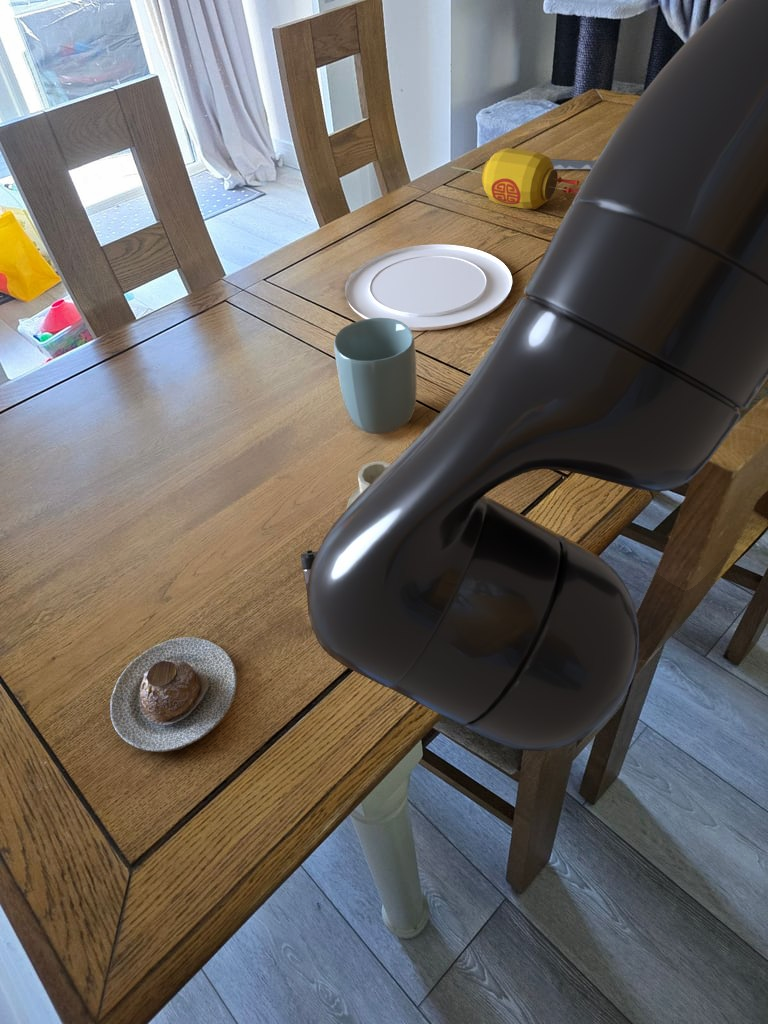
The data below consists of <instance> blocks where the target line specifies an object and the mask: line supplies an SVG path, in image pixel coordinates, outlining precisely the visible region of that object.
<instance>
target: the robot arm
mask: <svg viewBox="0 0 768 1024" xmlns="http://www.w3.org/2000/svg"><path fill="white" fill-rule="evenodd" d="M596 160H597V161H596ZM596 160H595V161H596V162H595V164H594V165H593V167H592V169H591V170H589V172H588V174H587V175H586V178H585V179H584V181H583V182H582V185H580V187H579V189H578V190H579V191H578V193H577V194H575V196H574V198H573V200H572V202H571V205H570V206H569V207H568V209H567V211H566V213H565V214H564V217H563V218H562V220H561V221H560V224H559V225H558V227H557V229H556V231H555V233H554V235H553V237H552V238H551V240H550V242H549V243H548V245H547V247H546V249H545V251H544V252H543V254H542V256H541V258H540V260H539V262H538V264H537V265H536V267H535V269H534V271H533V273H532V275H531V277H530V278H529V279H528V282H527V283H526V285H525V287H524V289H523V293H524V295H525V296H520V297H519V299H518V300H517V301H516V304H515V305H514V307H513V309H512V311H511V312H510V314H509V315H508V317H507V319H506V321H505V323H504V324H503V326H502V328H501V329H500V331H499V332H498V334H497V336H496V337H495V339H494V341H493V342H492V343H491V345H490V347H489V348H488V350H487V352H486V353H485V354H484V356H483V357H482V359H480V361H479V362H478V364H477V365H476V367H475V368H474V369H473V371H472V372H471V374H470V375H469V376H468V378H467V379H466V380H465V381H464V383H463V384H462V385H461V387H460V388H459V389H458V390H457V392H456V393H455V394H454V395H453V396H452V397H451V399H450V400H449V401H448V402H447V403H446V404H445V406H444V407H443V408H442V409H441V411H439V413H438V414H437V415H436V416H435V418H434V419H433V420H432V421H431V422H430V423H429V424H428V425H427V427H425V429H423V431H422V432H421V433H419V435H418V436H417V437H416V438H415V439H414V440H413V441H412V443H410V444H409V446H407V447H406V448H405V449H404V450H403V451H402V453H400V454H399V455H398V456H397V457H396V458H395V459H394V460H393V461H392V462H391V463H389V464H390V465H389V466H388V467H387V468H386V469H385V470H384V471H383V472H382V473H381V474H380V475H379V476H378V477H377V478H376V479H375V480H374V481H373V482H372V483H371V484H370V485H369V486H368V487H367V488H366V489H365V490H364V491H363V492H362V493H361V494H360V495H359V496H358V497H357V498H356V499H355V500H354V501H353V502H352V504H351V505H350V506H349V507H348V508H347V507H346V510H344V511H343V513H342V514H341V515H340V516H339V517H338V519H336V521H335V522H334V523H333V525H332V526H331V528H330V529H329V531H328V532H327V534H326V535H325V536H324V538H323V539H322V542H321V544H320V546H319V548H318V550H317V551H313V550H312V549H311V550H306V551H305V553H301V554H300V562H301V567H302V572H303V577H304V583H305V590H306V600H307V613H308V618H309V622H310V626H311V629H312V632H313V634H314V636H315V638H316V641H317V643H318V644H319V645H320V646H321V648H322V650H324V651H325V652H326V653H327V654H328V656H330V657H331V658H332V659H334V660H335V661H336V662H338V663H339V664H341V665H342V666H344V667H346V668H347V669H349V670H351V671H354V672H355V673H357V674H359V675H361V676H363V677H365V678H366V679H369V680H371V681H372V682H374V683H376V684H379V685H380V686H383V687H385V688H388V689H390V690H392V691H394V692H396V693H398V694H400V695H402V696H403V697H406V698H408V699H409V700H411V701H413V702H415V703H417V704H420V705H421V706H424V707H425V708H427V709H429V710H431V711H434V712H435V713H437V714H439V715H441V716H443V717H444V718H447V719H449V720H451V721H453V722H454V723H457V724H460V725H461V726H463V727H465V728H466V729H468V730H470V731H472V732H474V733H476V734H478V735H480V736H483V737H484V738H485V739H486V738H487V739H489V740H491V741H492V742H495V743H498V744H500V745H503V746H505V747H508V748H512V749H516V750H520V751H521V750H522V751H528V752H529V751H531V752H543V751H549V750H555V749H560V748H563V747H566V746H569V745H571V744H574V743H576V742H579V741H580V740H582V739H584V738H585V737H587V736H588V735H590V734H592V733H593V732H594V731H595V730H596V729H598V728H599V727H601V726H602V725H603V724H604V723H605V722H606V721H607V720H608V719H609V718H610V717H611V716H612V714H613V713H614V712H615V711H616V710H617V708H618V707H619V706H620V704H621V703H622V701H623V699H624V697H625V695H626V694H627V692H628V689H629V687H630V686H631V683H632V681H633V679H634V675H635V672H636V668H637V664H638V659H639V651H640V629H639V621H638V616H637V612H636V607H635V604H634V601H633V598H632V596H631V593H630V592H629V589H628V588H627V586H626V583H624V581H623V579H622V578H621V576H620V575H619V574H618V572H617V571H616V570H615V569H614V568H613V567H612V566H611V565H610V564H609V563H608V562H606V561H605V560H604V559H603V558H602V557H600V556H599V555H597V554H596V553H594V552H592V551H591V550H589V549H588V548H586V547H584V546H583V545H581V544H579V543H577V542H575V541H573V540H571V539H569V538H568V537H566V536H564V535H562V534H560V533H558V532H555V531H554V530H553V529H550V528H548V527H546V526H544V525H542V524H541V523H539V522H537V521H535V520H533V519H531V518H529V517H527V516H525V515H523V514H521V513H520V512H518V511H515V510H514V509H511V508H509V506H506V505H504V504H502V503H500V502H498V501H496V500H494V499H493V498H490V497H488V496H486V495H487V494H488V493H489V492H491V491H492V490H494V489H495V488H497V487H498V486H500V485H503V484H504V483H506V482H508V481H510V480H512V479H514V478H516V477H520V476H521V475H523V474H526V473H530V472H532V471H538V470H551V471H561V472H569V473H572V474H578V475H582V476H587V477H590V478H594V479H598V480H602V481H605V482H608V483H613V484H616V485H620V486H622V487H623V486H624V487H626V488H631V489H636V490H641V491H645V492H646V491H647V492H656V493H657V492H668V491H671V490H677V488H680V487H682V486H684V485H685V484H687V483H688V482H690V481H691V480H693V478H695V477H696V476H697V475H698V474H699V473H700V472H701V471H702V470H703V468H704V467H705V466H706V465H707V464H708V463H709V461H711V459H712V458H713V456H714V455H715V454H716V452H717V451H718V449H719V448H720V447H721V445H723V443H724V441H725V440H726V438H727V437H728V436H729V434H730V433H731V431H732V430H733V429H734V427H735V426H736V425H737V423H738V421H739V420H740V419H741V412H740V411H744V410H747V409H748V407H749V406H750V404H751V403H752V402H753V400H754V399H755V397H756V396H757V394H758V393H759V392H760V390H761V388H762V387H763V386H764V384H765V383H766V382H767V380H768V0H725V2H724V3H722V4H721V5H720V6H719V7H718V8H717V9H716V10H715V11H714V12H713V13H712V14H711V15H710V16H709V17H708V18H707V19H706V20H705V21H704V22H703V23H702V25H701V26H700V27H699V28H698V29H697V30H696V31H695V32H694V33H693V34H692V35H691V36H690V37H689V38H688V40H686V41H685V43H684V44H683V45H682V46H681V47H680V48H679V50H678V51H676V53H675V54H674V55H673V56H672V57H671V59H670V60H669V61H668V62H667V63H666V64H665V66H664V67H662V68H661V70H660V71H659V72H658V74H657V75H656V76H655V77H654V79H653V80H652V81H651V82H650V84H649V85H648V86H647V87H646V89H645V90H644V91H643V92H642V94H641V95H640V96H639V98H638V99H637V100H636V101H635V102H634V104H633V105H632V107H631V108H630V109H629V110H628V112H627V114H626V115H625V117H624V118H623V119H622V121H621V122H620V124H619V125H618V126H617V128H616V130H615V131H614V132H613V134H612V135H611V136H610V138H609V140H608V142H607V143H606V145H604V148H603V150H601V153H600V154H599V156H598V158H597V159H596ZM739 410H740V411H739Z"/></svg>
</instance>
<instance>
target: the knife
mask: <svg viewBox="0 0 768 1024" xmlns="http://www.w3.org/2000/svg"><path fill="white" fill-rule="evenodd" d="M550 160H551V162H552V164H553V167H554V169H555V170H588V171H590V170H591V169H592V167H593V165H594V164H595V162H596V161H597V159H596V160H579V159H560V158H550Z"/></svg>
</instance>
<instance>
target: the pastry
mask: <svg viewBox="0 0 768 1024" xmlns="http://www.w3.org/2000/svg"><path fill="white" fill-rule="evenodd" d="M237 685H238V679H237V670H236V667H235V664H234V660H233V659H232V658H231V656H230V655H229V653H228V652H227V651H226V650H225V649H224V648H222V647H221V646H219V645H218V644H216V643H214V642H213V641H211V640H208V639H203V638H198V637H193V636H185V637H176V638H171V639H168V640H166V641H163V642H161V643H158V644H156V645H154V646H152V647H150V648H148V649H147V650H145V651H144V652H143V653H141V654H140V655H138V656H137V657H136V658H134V659H133V660H131V662H130V663H129V664H128V665H127V666H126V667H125V669H124V670H123V672H122V673H121V674H120V676H119V677H118V679H117V681H116V683H115V686H114V689H113V692H112V693H111V696H110V719H111V722H112V723H111V724H112V726H113V728H114V730H115V732H116V733H117V734H118V736H119V737H120V738H121V739H122V740H124V742H126V743H128V744H129V745H130V746H132V747H134V748H137V749H140V750H143V751H147V752H155V753H157V752H158V753H162V752H164V753H165V752H171V751H179V750H182V749H184V748H187V746H189V745H191V744H193V743H195V742H197V741H199V740H201V739H202V738H204V737H205V736H206V735H208V734H209V733H210V732H212V730H214V729H215V728H216V727H217V726H218V725H219V723H221V721H222V720H223V718H225V716H226V715H227V713H228V712H229V710H230V708H231V706H232V704H233V702H234V699H235V695H236V692H237V687H238V686H237Z"/></svg>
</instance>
